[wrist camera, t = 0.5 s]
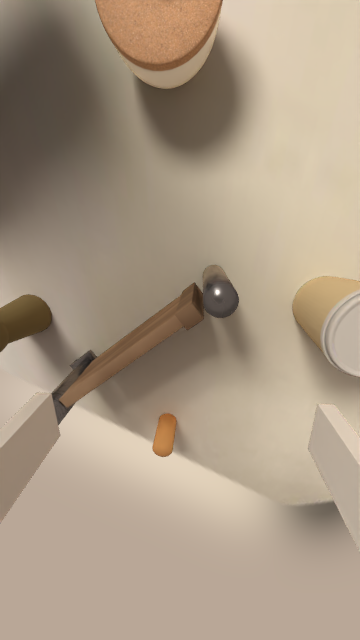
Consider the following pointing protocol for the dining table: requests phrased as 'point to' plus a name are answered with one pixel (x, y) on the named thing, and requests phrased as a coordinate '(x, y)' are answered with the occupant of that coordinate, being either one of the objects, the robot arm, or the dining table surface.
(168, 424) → the post
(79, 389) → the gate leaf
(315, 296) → the coffee cup
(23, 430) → the robot arm
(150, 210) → the dining table surface
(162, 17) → the lidded jar
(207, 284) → the gate frame
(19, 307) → the cork
